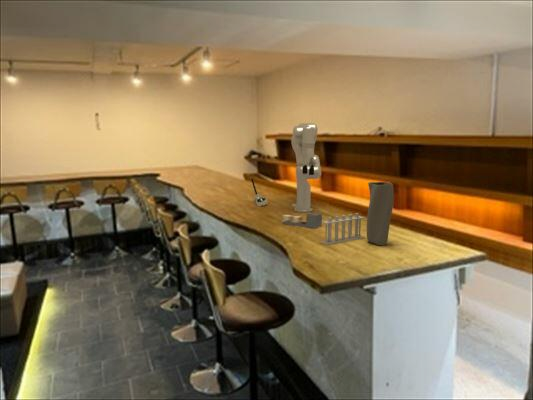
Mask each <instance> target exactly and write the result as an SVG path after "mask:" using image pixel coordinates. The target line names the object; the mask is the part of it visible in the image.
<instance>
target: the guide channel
mask: <svg viewBox="0 0 533 400" xmlns="http://www.w3.org/2000/svg"><path fill="white" fill-rule="evenodd" d="M281 222H282V221H281ZM281 224H282V225H286V226H287V225H288V226H296V227H302V228H306V221H302V224H300V223H292V222H284V221H283V222H282V223H281Z"/></svg>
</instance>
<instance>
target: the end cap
mask: <svg viewBox="0 0 533 400" xmlns="http://www.w3.org/2000/svg"><path fill="white" fill-rule="evenodd" d="M322 219H323V213H320V212H311V213H310V212H309V213H308V214H306V220H305V222H306V227H305V228H307V229H314V230H317V229H319V228H320V227H322V226H323V225H322V224H323V223H322V221H323V220H322Z"/></svg>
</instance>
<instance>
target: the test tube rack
mask: <svg viewBox="0 0 533 400" xmlns="http://www.w3.org/2000/svg"><path fill="white" fill-rule="evenodd" d="M365 218H366V217H365V216H361V215H359V213H358V212H355V214H354V216H353V214H352V213H349V214H348V217H346V215H345V214H342V216H341V218H340V216H339V215H336V216H335V217H334V219H333V217H332V216H328V218H327V220H324V221H323V220H322V224H324V225H325V226H324V227H325V233H324V234H325V235H324V236H325V237H324V239H325V240H324V241H323V240H322V241H320V243H321V244H323V245H325V246H328V245H333V244H339V243H344V242H350V241H355V240H359V239H360V240H361V239H365V236H363V235H361V234H362V233H361V227H362V226H361V224H362V223H361V222H362V219H365ZM353 221H354V235H352V233H353V232H352V231H353ZM346 222H348V229H347V233H348V234H347V236H346ZM339 223H341V237H340V238H339ZM332 224H334V239H333V238H332Z"/></svg>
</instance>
